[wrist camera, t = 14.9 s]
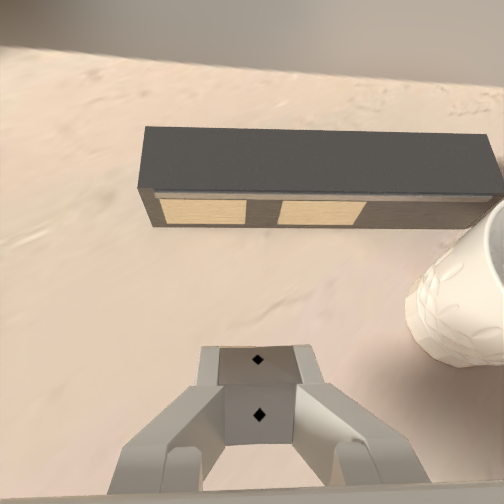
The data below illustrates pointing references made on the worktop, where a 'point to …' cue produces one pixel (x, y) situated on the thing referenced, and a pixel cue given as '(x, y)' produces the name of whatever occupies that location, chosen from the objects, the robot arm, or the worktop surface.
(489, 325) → the white cup
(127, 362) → the worktop surface
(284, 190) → the long dark grey beam
